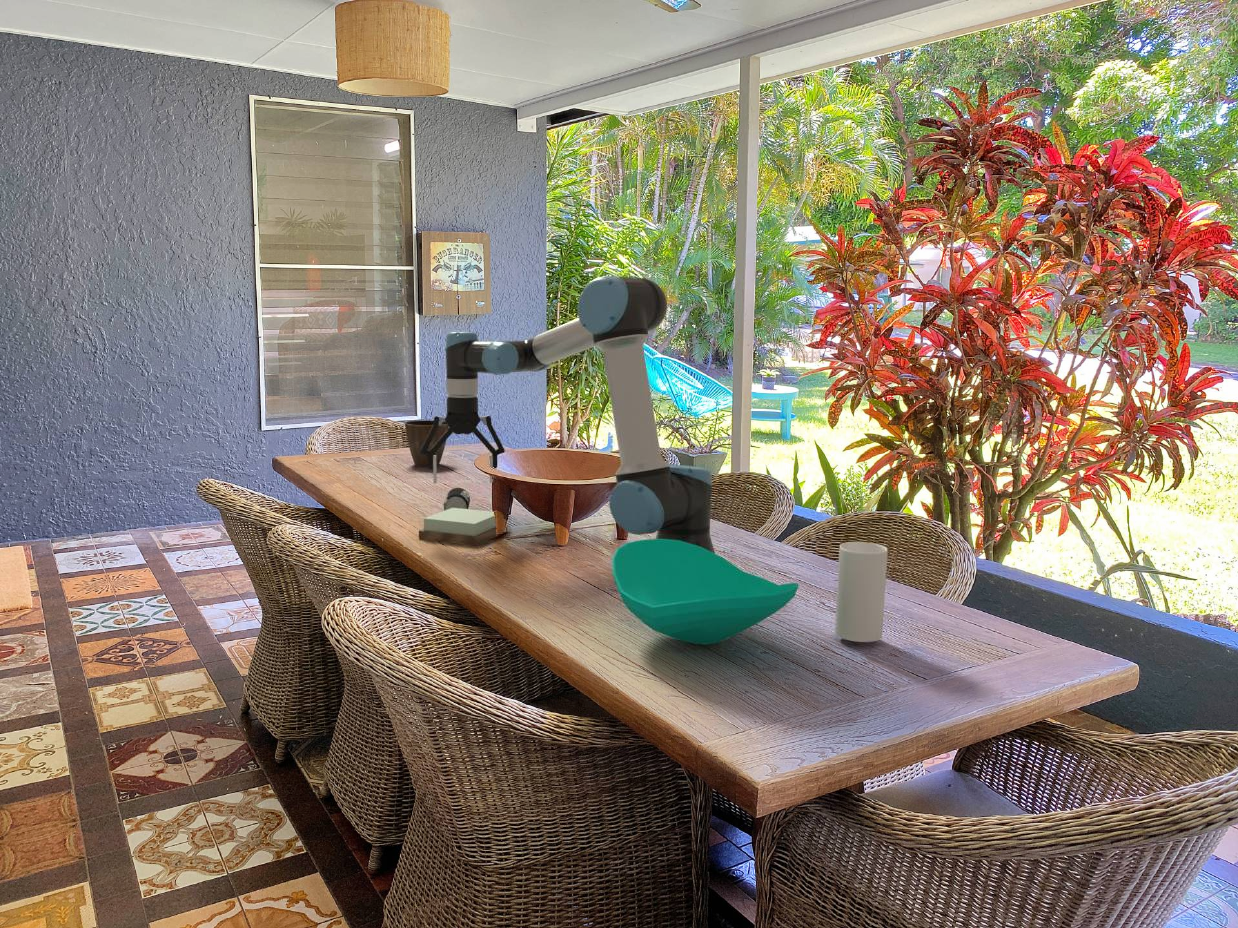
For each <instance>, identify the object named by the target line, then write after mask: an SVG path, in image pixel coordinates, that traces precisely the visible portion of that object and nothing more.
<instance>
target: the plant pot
mask: <svg viewBox="0 0 1238 928" xmlns="http://www.w3.org/2000/svg"><path fill="white" fill-rule="evenodd" d="M433 424H434V419H433V420H431V419H430V420H428V419H426V420H424V419H423V420H409V421H405V422H404V426H405V434H406V439H407V445H408V447H409V451H410V454H411V458H412V461H413V463H414V466H416V467H419V468H429V467H428V456H427V455H425V454H422V453H421V448H422V446H423V444H424V442H425V440H426V438H427V436H428V434H429V432H430V430H431V428H432V426H433ZM448 428H449V426H448V425H447V424H446V422H443V423H442V424H441V425H438V428H437V431H436V433H435V435H434V437H433V439H432V441H431V443H430V445H429V447H428V450H430V449H431V448H432V447H433V446H434V445H435V444H436V442H437V441H438V440H439V439H440V438H441V436H442V435H443V434H444V433H445V432H446V430H447V429H448ZM446 442H447V440H446V441H445V442H444V443H443V444H442V446H441V447H440V448H439V449H438V450H437V451H436V453H435V454H434V455H436V467H438V465H439V466H440V464H441V461H442V458H443V454H444V451H445V448H446V444H447V443H446Z"/></svg>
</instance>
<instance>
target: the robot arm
mask: <svg viewBox="0 0 1238 928" xmlns="http://www.w3.org/2000/svg"><path fill="white" fill-rule="evenodd" d="M667 310H668V299H667V296H666V293H665V292H664V290H663V288H662V287H660V286H659V284H658V283H656V282H655V281H653V280H650V279H647V278H644V277H626V276H618V275H610V276H599V277H596V278H595V279H592V280H591V281H589V282H588V283H587V284H586V285H585V287H584V288H583V291H582V292H581V293H580V295H579V298H578V301H577V315H578V317H576V318H575V319H573V320H571V321H568V322H566V323H564V324H560V325H558V326H556V327H554V328H552V329H549V330H547V331H544V332H542V333H540V334H539V333H538V334H537V335H535V336H533V337H530V338H528V339H525V340H501V341H500V340H499V341H493V340H491V341H487V340H486V341H485V340H483V341H482V340H481V341H480V340H479V339H478V333H476V332H475V331H451V332H450V331H449V332H448V333H447V335H446V336H445V337H446V338H445V339H446V340H445V349H444V350H445V363H446V365H445V366H446V369H445V371H446V373H445V374H446V382H445V384H446V394H447V395H448V396H447V397H446V415H445V416H439V415H437V414H435V415H434V417H433V420H434V424H433V426H432V428H431V430H430V432H429V434H428V436H427V438H426V440H425V442H424V444H423V446H422V448H421V453H422V454H425V455H427V456H428V467H427V468H428V470H433V479H432V480H433V484H437V481H438V480H437V478H438V475H437V470H438V469H437V466H436V455H434V454H435V453H436V451H437V450H438V449H439V448H440V447H441V446H442V444H443V443H444V442H445V441H446V442H447V440H448V438H449V437H450V436H451V435H452V434H455V435H463V434H464V435H471V434H474V435H475V436H476V437H477V438H478V440H479V441H480V442H481V443H482V444H483V446H484V447H486V449H487V450H488V451H489V452H490V453H491V454H488V461H489V462H488V468H489V467H491V468H493V467H494V468H493V469H498V456H499V455H501V454H504V453H505V447H504V446H503V444H502V441H501V440H500V439H499V436H498V434H497V432H496V430H495V428H494V427H493V423H492V417H491V415H490V414H487V415H484V416H479V398H478V397H477V396H476V395H478V394H479V376H478V375H479V374H478V373H482V374H491V375H492V374H493V375H496V376H498V375H509V374H511V373H522V372H524V373H525V372H532V373H533V372H539V371H544V370H547V369H548V368H549V367H550V366H551V365H552V364H553V363H556V362H558V361H561V360H563V359H566V358H568V357H571V356H574V355H576V354H579V353H582V352H584V351H586V350H589V349H592V348H594V347H596V348H597V349H598V350H600V351H601V353H602V356H603V357H602V358H603V362H604V369H605V374H606V380H607V385H608V387H607V388H608V392H609V398H610V404H611V411H612V416H613V422H614V430H615V435H616V441H617V446H618V454H619V459H620V466H619V467H618V469H617V470H616V471H615V481H616V485H615V486H614V487H613V488H612V490H611V493H610V495H609V500H608V503H609V504H608V505H609V510H610V513H611V516H612V518H613V520H614V521H615V523H616V524H617V525H618V526H619V527H620V528H622V529H623V531H625V532H626V533H628V534H631V535H635V536H637V535H638V536H641V535H642V536H643V535H647V534H654V533H656V532H657V534H656V536H655V539H669V540H679V541H683V542H686V543H690V544H693V545H696V546H700V547H702V548H704V549H706V550H708V551H710V552H712V553H715V554H716V551H715V548H714V545H713V544H714V543H713V542H712V538H711V510H712V488H713V484H712V473H711V471H710V470H709V469H708V468H705V467H701V466H700V467H699V466H693V465H683V464H672V463H669V462H667V461H666V460H664V459H663V458H662V455H661V449H660V442H659V435H658V429H657V424H656V418H655V412H654V406H653V399H652V393H651V387H650V381H649V380H650V379H649V375H648V369H647V363H646V356H645V351H644V344H645V343H646V341H647V339H649V337H650V336H649V332H650V331H652V330H655V329H656V328H657V327H659V326H660V325H661V324H662V322H663V321H664V320H665V317H666V315H667V312H668V311H667ZM443 422H446V424H447V425H448V426H449V427H448V429H447V430H446V432H445V433H444V434H443V435H442V436H441V438H440V439H439V440H438V441H437V442H436V444H435V445H434V446H433V447H432V448H431V449H430V450H428V447H429V445H430V443H431V441H432V439H433V437H434V435H435V433H436V431H437V428H438V425H441V424H442V423H443ZM480 422H482V423H483V425H484V426H486V427H487V429H488V431H489V433H490V434H491V437H492V439H493V441H494V443H495V444H496V447H497V448H496V449H495V447H494V446H493V445H492V444H491V442H490V441H488V438H486V437H485V436H484V435H483V433H482V432H481V431H480V430H479V428H477V426H479V424H480ZM488 477H489V478H488V481H489V483H494V478H493V479H492V477H491V476H488Z"/></svg>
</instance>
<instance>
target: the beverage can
mask: <svg viewBox="0 0 1238 928" xmlns="http://www.w3.org/2000/svg"><path fill="white" fill-rule="evenodd" d="M470 502H471V497H470V494H469V492H468V491H467V490H466V489H464V488H463V487H462V488H461V487H455V488H452V489H450V490H449V491H448V492H447V495H446V497H445V500H444V502H443V511H445V510H448V509H451V508H461V509H470V508H469V507H470Z"/></svg>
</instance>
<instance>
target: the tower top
mask: <svg viewBox="0 0 1238 928" xmlns="http://www.w3.org/2000/svg"><path fill="white" fill-rule="evenodd" d="M494 512H495V511H488V510H479V509H470V508H468V509H461V508H451V509H448V510H445V511H444V510H443V511H440V512H437V513H434V514H431V515H430V516H426V517H424V518H423V529H424V530H425V531H434V532H443V533H452V534H461V535H470V536H476V535H479V534H481V533H483V532H485V531H488V530H490V529H492V528H494V527H496V523H495V515H494Z"/></svg>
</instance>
